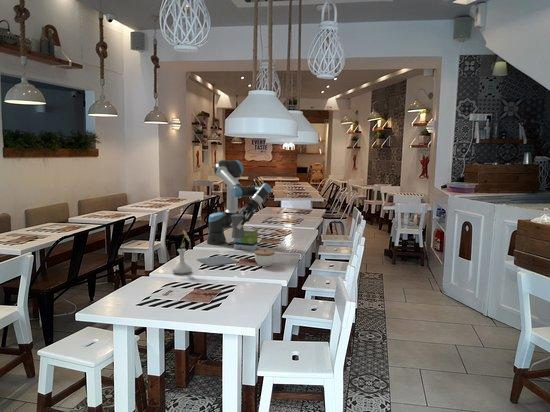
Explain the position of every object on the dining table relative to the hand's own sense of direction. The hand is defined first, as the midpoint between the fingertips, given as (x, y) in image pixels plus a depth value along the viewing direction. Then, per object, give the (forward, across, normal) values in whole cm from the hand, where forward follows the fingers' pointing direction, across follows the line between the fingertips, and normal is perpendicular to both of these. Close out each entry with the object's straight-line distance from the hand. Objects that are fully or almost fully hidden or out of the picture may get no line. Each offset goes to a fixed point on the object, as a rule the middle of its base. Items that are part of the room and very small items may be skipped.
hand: (234, 227), depth 292 cm
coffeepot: (+3, 0, -8) cm, 8 cm away
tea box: (+1, +18, -28) cm, 34 cm away
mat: (+25, -4, -4) cm, 26 cm away
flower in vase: (+46, -16, +17) cm, 52 cm away
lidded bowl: (+11, -30, -18) cm, 37 cm away
